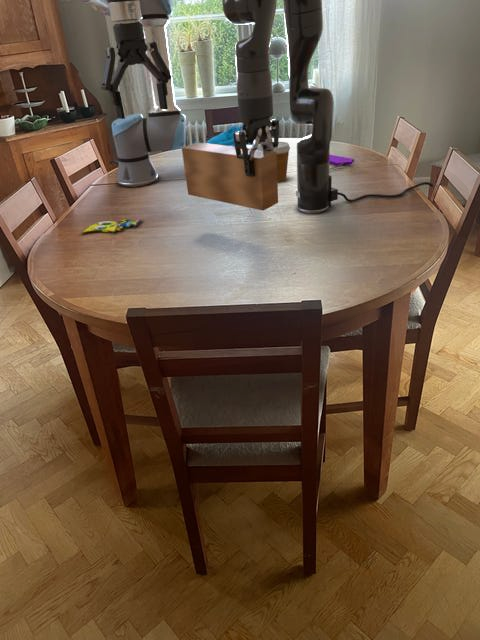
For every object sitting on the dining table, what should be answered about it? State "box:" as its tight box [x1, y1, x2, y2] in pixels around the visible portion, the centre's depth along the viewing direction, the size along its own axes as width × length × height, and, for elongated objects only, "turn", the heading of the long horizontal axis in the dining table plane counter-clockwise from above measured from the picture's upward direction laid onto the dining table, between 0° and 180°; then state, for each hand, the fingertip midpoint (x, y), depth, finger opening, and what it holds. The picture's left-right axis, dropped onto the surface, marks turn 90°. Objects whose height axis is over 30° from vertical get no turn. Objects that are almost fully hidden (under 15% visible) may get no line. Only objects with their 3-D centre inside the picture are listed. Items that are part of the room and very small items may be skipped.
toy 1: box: [82, 218, 141, 235], centre depth 145 cm, size 10×1×15 cm
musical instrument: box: [329, 154, 355, 171], centre depth 185 cm, size 24×2×20 cm
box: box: [181, 141, 279, 211], centre depth 119 cm, size 25×6×12 cm, turn 50°
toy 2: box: [194, 125, 253, 147], centre depth 207 cm, size 17×11×30 cm
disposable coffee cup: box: [274, 141, 291, 183], centre depth 169 cm, size 10×10×12 cm
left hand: (143, 113), depth 131 cm, fingers open, 13 cm apart
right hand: (259, 172), depth 112 cm, fingers closed on box, 6 cm apart
